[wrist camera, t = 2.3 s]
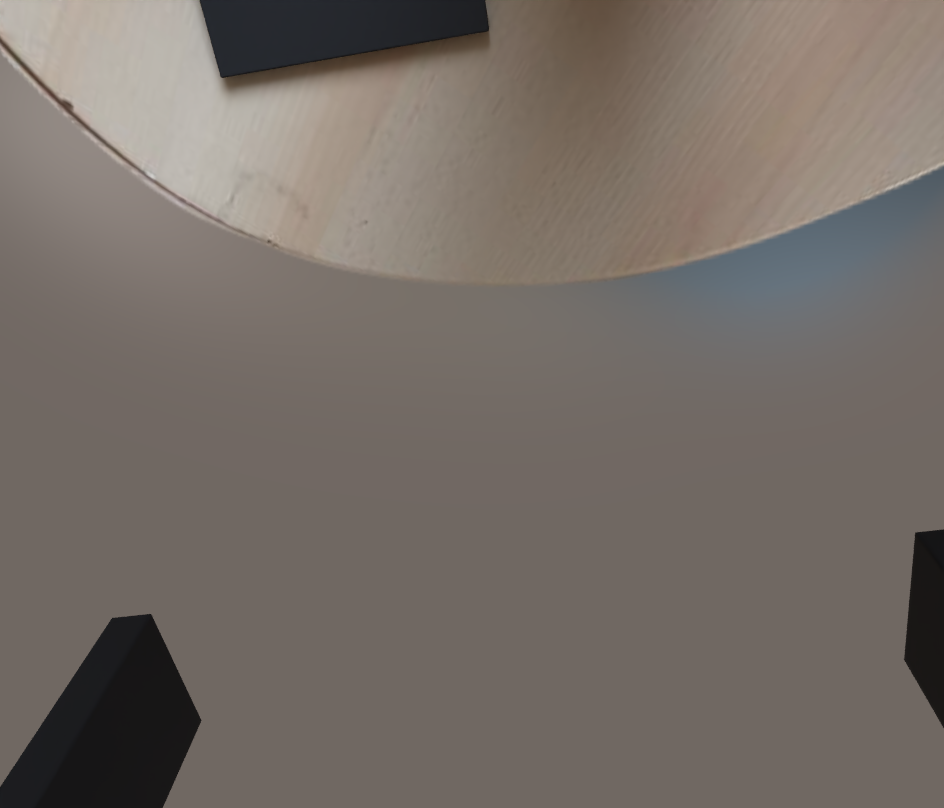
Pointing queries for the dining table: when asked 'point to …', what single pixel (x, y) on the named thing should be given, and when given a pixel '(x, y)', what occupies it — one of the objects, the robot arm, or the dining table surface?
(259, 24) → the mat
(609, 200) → the dining table surface
